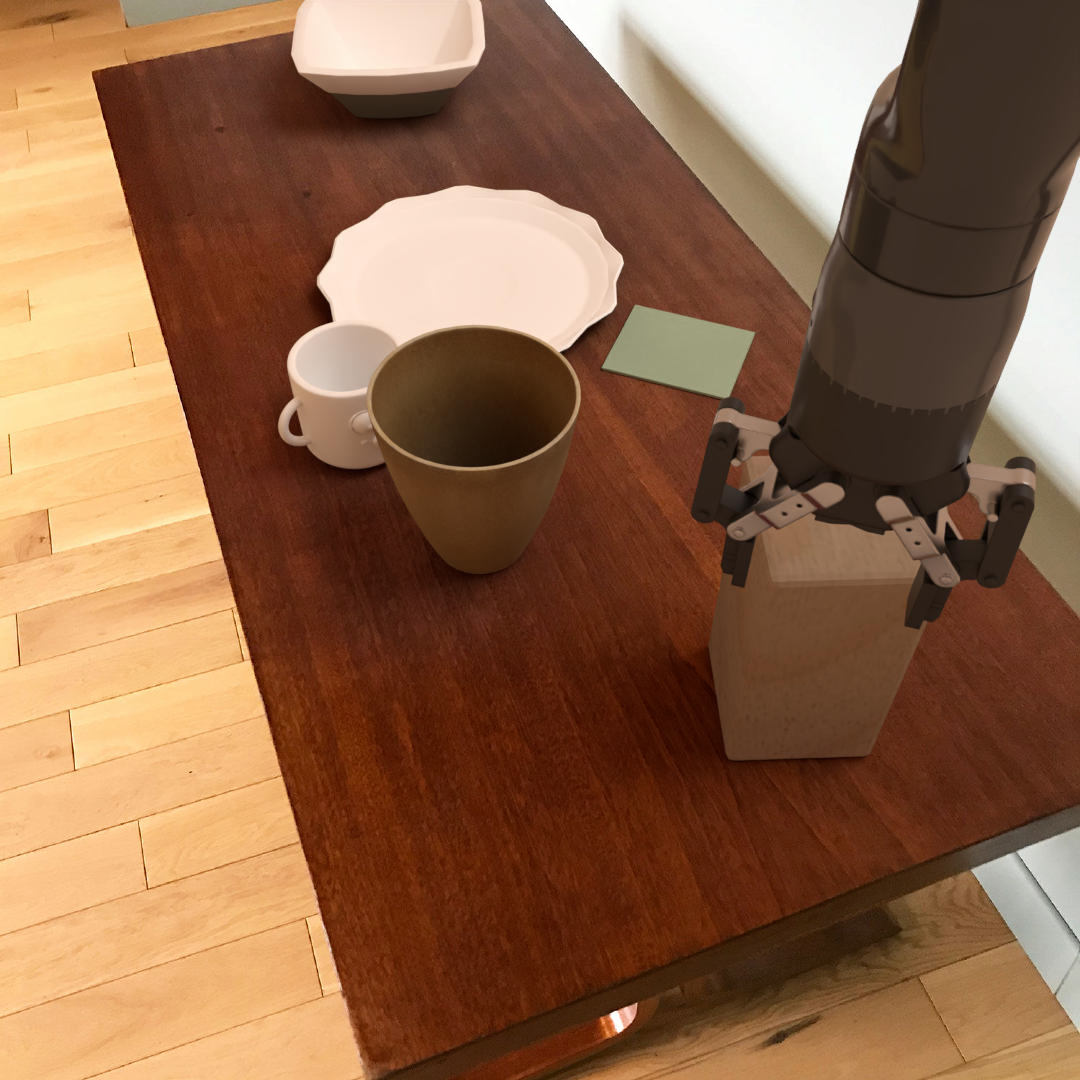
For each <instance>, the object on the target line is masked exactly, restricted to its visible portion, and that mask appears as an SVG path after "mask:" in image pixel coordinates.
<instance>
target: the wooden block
mask: <svg viewBox="0 0 1080 1080" xmlns="http://www.w3.org/2000/svg"><path fill="white" fill-rule="evenodd" d="M772 464H773V462H772V460H771V458H770V455H752V456H751V458H750V459H749V460H747V461H745V462H742V465H741V466H742V467H741V471H740V477H739V483H738V488H737V489H738V490H739V489H741V488H742V487H744V486H746V485H748V484H749V483H751V482H753V481H754V480H756V479H758V478H759V477H761V476H763V475H764V474H765V473H766V472H767V470H768V468H769V467H770V466H771V465H772ZM920 565H921V562H920V560H915V561H914V560H913V559H912V558H911V556H910V555H909V553H908V552H907V550H906V549H905V547H904V545H903V544H902V542H901V541H900V539H899V538H898V536H897V535H896V533H895V532H894V531H885V534H884V535H879V534H875V533H870V532H866V531H864V530H861V529H859V528H856V527H854V526H852V525H844V524H829V523H825V522H820V521H816V520H815V515H813V514H811V513H810V514H808V515H806V516H804V517H802V518H800V519H799V520H797V521H795V522H793V523H791V524H789V525H787V526H785V527H783V528H782V529H779V530H777V529H775V528H774V527H771V528H769V529H767V530H765V531H763V532H761V533H759V534H758V535H757V536H756V541H755V545H754V550H753V554H752V559H751V563H750V567H749V571H748V575H747V579H746V583H745V587H744V588H742V587H738V586H734V585H731V581H732V576H733V575H730V574H725V573H723V571H722V570H721V572H722V573H721V578H720V583H719V588H718V592H717V598H716V604H715V608H714V614H713V618H712V624H711V630H710V635H709V639H708V640H709V641H708V645H707V646H708V653H709V658H710V664H711V671H712V676H713V683H714V690H715V695H716V702H717V708H718V714H719V721H720V728H721V734H722V739H723V740H722V741H723V746H724V752H725V755H726V757H727V759H728V760H729V761H734V762H735V761H736V762H737V761H763V760H764V761H766V760H767V761H768V760H793V759H794V760H795V759H824V758H825V759H828V758H829V759H830V758H853V757H854V758H855V757H856V758H857V757H858V758H859V757H867V756H868V755H870V754H871V752H872V750H873V748H874V746H875V743H876V741H877V739H878V736H879V735H880V732H881V730H882V728H883V725H884V723H885V720H886V718H887V716H888V713H889V711H890V709H891V708H892V707H891V706H892V705H893V702H894V700H895V698H896V694H897V693H898V691H899V688H900V686H901V684H902V681H903V679H904V677H905V674H906V672H907V670H908V667H909V666H910V663H911V661H912V658H913V656H914V654H915V652H916V650H917V647H918V645H919V642H920V640H921V638H922V636H923V633H924V631H925V630H926V626H927V624H928V623H929V622H928V621H923V623H922V625H921V627H920V629H919V630H918V629H914V628H909V627H905V626H904V622H905V614H906V606H907V599H908V595H909V592H910V589H911V587H912V584H913V582H914V579H915V577H916V574H917V572H918V569H919V567H920Z"/></svg>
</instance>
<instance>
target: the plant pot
mask: <svg viewBox="0 0 1080 1080" xmlns="http://www.w3.org/2000/svg"><path fill="white" fill-rule="evenodd" d="M581 390H582V389H581V385H580V381H579V378H578V375H577V373H576V371H575V370H574V368H573V366H572V365H571V363H570V362H569V360H568V359H567V358H566V357H565V356H564V355H563V354H562V352H561V353H559V352H558V351H557V350H556V349H554V348H553V347H552V346H550V345H549V344H548V343H546V342H544V341H542V340H541V339H539V338H536V337H534V336H532V335H530V334H527V333H524V332H520V331H517V330H513V329H508V328H503V327H498V326H488V325H463V326H455V327H448V328H443V329H438V330H434V331H431V332H428V333H425V334H422V335H420V336H417V337H415V338H413V339H411V340H409V341H407V342H405V343H403V344H402V345H400V346H399V347H397V348H396V349H395V350H393V351H392V352H391V353H390V354H389V355H387V356H386V357H385V358H384V359H383V361H382V362H381V363H380V364H379V366H378V367H377V368H376V370H375V371H374V373H373V375H372V377H371V379H370V382H369V385H368V388H367V393H366V405H367V411H368V415H369V418H370V421H371V424H372V427H373V430H374V433H375V436H376V439H377V442H378V445H379V447H380V450H381V453H382V456H383V458H384V461H385V463H384V464H385V465H386V467H387V470H388V473H389V475H390V477H391V479H392V481H393V484H394V485H395V488H396V489H397V492H398V493H399V495H400V497H401V500H402V501H403V503H404V505H405V507H406V508H407V511H408V513H409V514H410V516H411V518H412V519H413V521H414V522H415V524H416V525H417V527H418V529H419V530H420V531H421V533H422V534H423V536H424V537H425V539H426V540H427V542H428V543H429V544H430V545H431V547H432V548H433V549H434V551H435V552H436V554H438V556H439V557H440V558H441V559H442V560H443V561H444V562H445V563H446V564H447V565H449V566H450V567H451V568H453V569H455V570H457V571H460V572H463V573H467V574H470V575H471V574H472V575H488V574H493V573H497V572H499V571H502V570H505V569H506V568H509V567H510V566H511V565H513V564H514V563H515V562H517V560H519V558H520V557H521V556H522V555H523V553H524V551H525V550H526V549H527V547H528V545H529V544H530V542H531V540H532V538H533V537H534V535H535V533H536V532H537V530H538V529H539V526H540V524H541V523H542V520H543V519H544V517H545V515H546V512H547V511H548V508H549V506H550V504H551V501H552V500H553V497H554V495H555V491H556V489H557V487H558V485H559V482H560V479H561V477H562V473H563V471H564V467H565V464H566V461H567V458H568V454H569V451H570V448H571V444H572V441H573V440H572V439H573V436H574V431H575V428H576V425H577V419H578V416H579V411H580V407H581V399H582V394H581V393H582V391H581Z"/></svg>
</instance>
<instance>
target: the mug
mask: <svg viewBox="0 0 1080 1080" xmlns="http://www.w3.org/2000/svg"><path fill="white" fill-rule="evenodd" d="M402 344H403V342H402V340H401V339H400V337H399V336H398V335H397V334H396V333H395V332H393V331H392V330H391V329H389V328H387V327H385V326H383V325H380V324H378V323H374V322H370V321H364V320H343V321H337V322H333V321H332V322H329V323H325V324H323V325H320V326H318V327H315V328H313V329H311V330H309V331H308V332H307V333H305V334H304V335H302V336H301V337H299V339H297V340H296V342H295V343H294V344H293V346H292V347H291V349H290V350H289V353H288V355H287V356H288V357H287V360H286V368H287V374H288V378H289V382H290V383H289V384H290V387H291V392H292V395H293V398H292V399H291V400H290V401H289V402H288V403H287V404H286V405H285V406H284V408H283V409H282V411H281V413H280V415H279V418H278V423H277V429H278V433H279V436H280V438H281V439H282V440H283V441H284V442H285V443H286V444H288V445H290V446H294V447H305V446H306V447H307V449H308V450H309V451H310V452H311V453H312V454H313V456H315V457H316V458H317V459H319V460H320V461H322V462H323V463H325V464H328V465H330V466H333V467H336V468H341V469H346V470H347V469H348V470H361V469H368V468H372V467H373V468H374V467H376V466H380V465H383V464H386V463H385V461H384V458H383V456H382V453H381V450H380V447H379V445H378V442H377V439H376V436H375V433H374V430H373V427H372V424H371V421H370V418H369V415H368V411H367V405H366V393H367V388H368V385H369V382H370V379H371V377H372V375H373V373H374V371H375V370H376V368H377V367H378V366H379V364H380V363H381V362H382V361H383V359H384V358H385V357H386V356H387V355H389V354H390V353H391V352H392V351H393V350H395V349H396V348H397V347H399V346H400V345H402ZM295 412H296V413H297V416H298V422H299V425H300V428H301V433H302V435H294V434H292V433H291V431H290V428H289V425H290V420H291V419H292V416H293V415H294V414H295Z"/></svg>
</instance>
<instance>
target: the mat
mask: <svg viewBox="0 0 1080 1080" xmlns="http://www.w3.org/2000/svg"><path fill="white" fill-rule="evenodd" d="M755 336H756V331H751V330H749V329H748V330H747V329H743V328H738V327H734V326H730V325H726V324H721V323H716V322H713V321H709V320H704V319H700V318H695V317H691V316H687V315H682V314H678V313H674V312H669V311H666V310H660V309H656V308H652V307H648V306H643V305H639V304H634V306H633V308H632V310H631V312H630V313H629V315H628V316H627V319H626V321H625V322H624V325H623V326H622V327H621V330H620V332H619V334H618V337H617V338H616V340H615V342H614V343H613V345H612V346H611V349H610V351H609V353H608V354H607V356H606V358H605V360H604V362H603V364H602V365H601V370H602V371H604V372H607V373H608V372H609V373H613V374H616V375H621V376H623V377H629V378H631V379H632V378H633V379H637V380H641V381H645V382H648V383H649V382H650V383H653V384H658V385H661V386H664V387H669V388H674V389H678V390H680V391H684V392H685V391H686V392H690V393H693V394H697V395H702V396H705V397H706V396H707V397H710V398H713V399H718V400H720V401H721V400H722V399H724V398H726V397H731V394H732V392H733V390H734V387H735V385H736V382H737V379H738V377H739V375H740V372H741V370H742V368H743V365H744V363H745V360H746V358H747V355H748V353H749V350H750V348H751V345H752V343H753V341H754V338H755Z"/></svg>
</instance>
